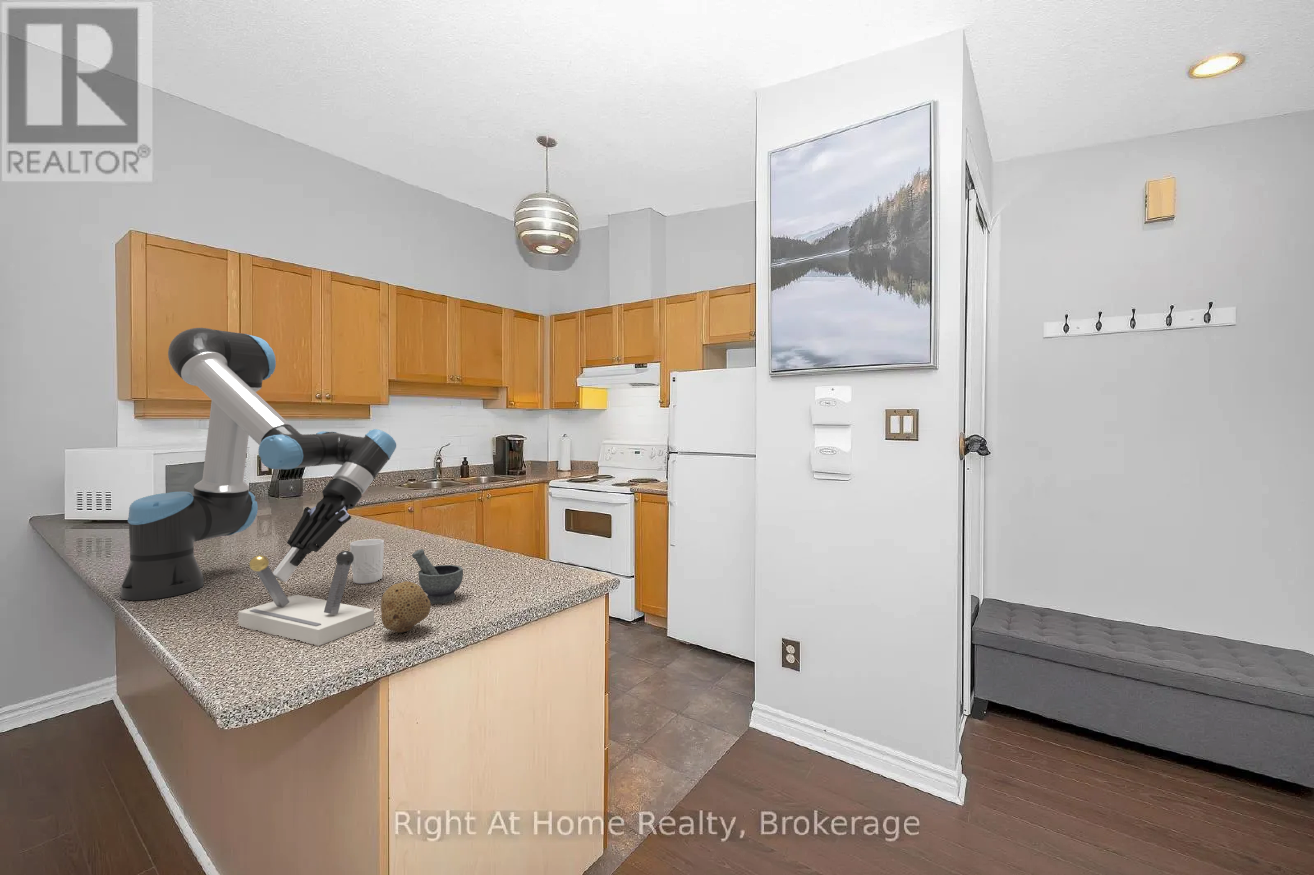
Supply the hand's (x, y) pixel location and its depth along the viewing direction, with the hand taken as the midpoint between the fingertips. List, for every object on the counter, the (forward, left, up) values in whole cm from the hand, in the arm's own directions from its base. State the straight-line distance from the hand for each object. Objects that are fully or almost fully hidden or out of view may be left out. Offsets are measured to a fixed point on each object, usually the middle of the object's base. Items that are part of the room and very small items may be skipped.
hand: (278, 578), depth 116 cm
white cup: (-27, +14, -10) cm, 32 cm away
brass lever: (-1, +1, -6) cm, 6 cm away
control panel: (+4, +6, -9) cm, 11 cm away
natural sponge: (+15, +25, -9) cm, 30 cm away
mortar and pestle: (-4, +31, -10) cm, 32 cm away
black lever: (+9, +11, -6) cm, 15 cm away
